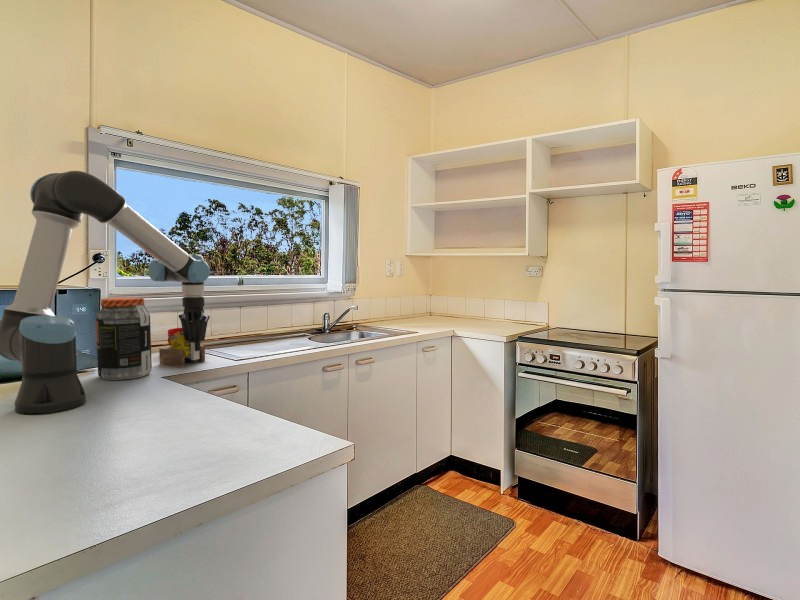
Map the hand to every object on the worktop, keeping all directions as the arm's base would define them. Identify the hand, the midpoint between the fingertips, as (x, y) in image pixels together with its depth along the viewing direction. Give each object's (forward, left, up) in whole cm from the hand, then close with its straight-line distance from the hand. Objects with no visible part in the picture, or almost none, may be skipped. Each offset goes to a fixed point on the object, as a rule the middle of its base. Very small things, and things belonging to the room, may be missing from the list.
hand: (195, 359), depth 181 cm
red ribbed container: (+12, +19, -2) cm, 22 cm away
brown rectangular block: (0, +6, -2) cm, 6 cm away
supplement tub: (-23, +7, -2) cm, 25 cm away
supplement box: (0, +3, -1) cm, 3 cm away
